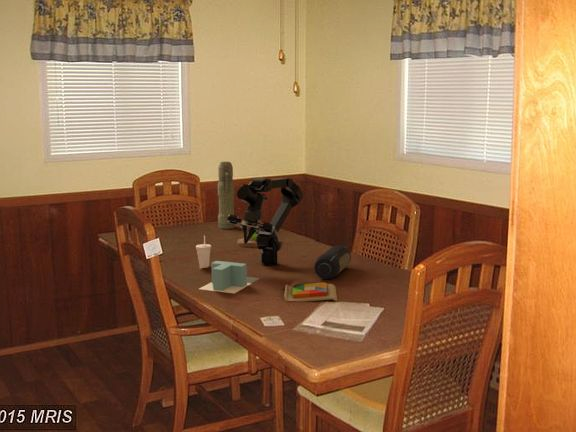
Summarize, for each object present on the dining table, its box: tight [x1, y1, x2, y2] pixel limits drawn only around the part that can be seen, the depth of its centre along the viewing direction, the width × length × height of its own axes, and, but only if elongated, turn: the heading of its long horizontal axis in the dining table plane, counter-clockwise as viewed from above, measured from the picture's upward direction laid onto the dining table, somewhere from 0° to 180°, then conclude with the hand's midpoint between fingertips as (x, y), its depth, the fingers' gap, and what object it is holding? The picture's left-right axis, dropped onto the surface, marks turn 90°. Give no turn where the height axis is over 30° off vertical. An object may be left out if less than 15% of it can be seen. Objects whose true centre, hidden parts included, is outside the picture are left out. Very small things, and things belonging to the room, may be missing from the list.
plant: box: [236, 220, 281, 249], centre depth 346 cm, size 20×20×11 cm
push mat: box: [198, 276, 261, 294], centre depth 275 cm, size 22×15×1 cm
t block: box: [210, 260, 248, 291], centre depth 271 cm, size 11×13×8 cm
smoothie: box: [195, 235, 212, 270], centre depth 300 cm, size 6×6×14 cm
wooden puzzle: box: [283, 282, 338, 303], centre depth 263 cm, size 18×19×4 cm
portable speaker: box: [313, 244, 352, 280], centre depth 291 cm, size 25×10×10 cm, turn 160°
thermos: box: [217, 161, 236, 230], centre depth 381 cm, size 9×12×35 cm
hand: (245, 243), depth 292 cm, fingers closed
